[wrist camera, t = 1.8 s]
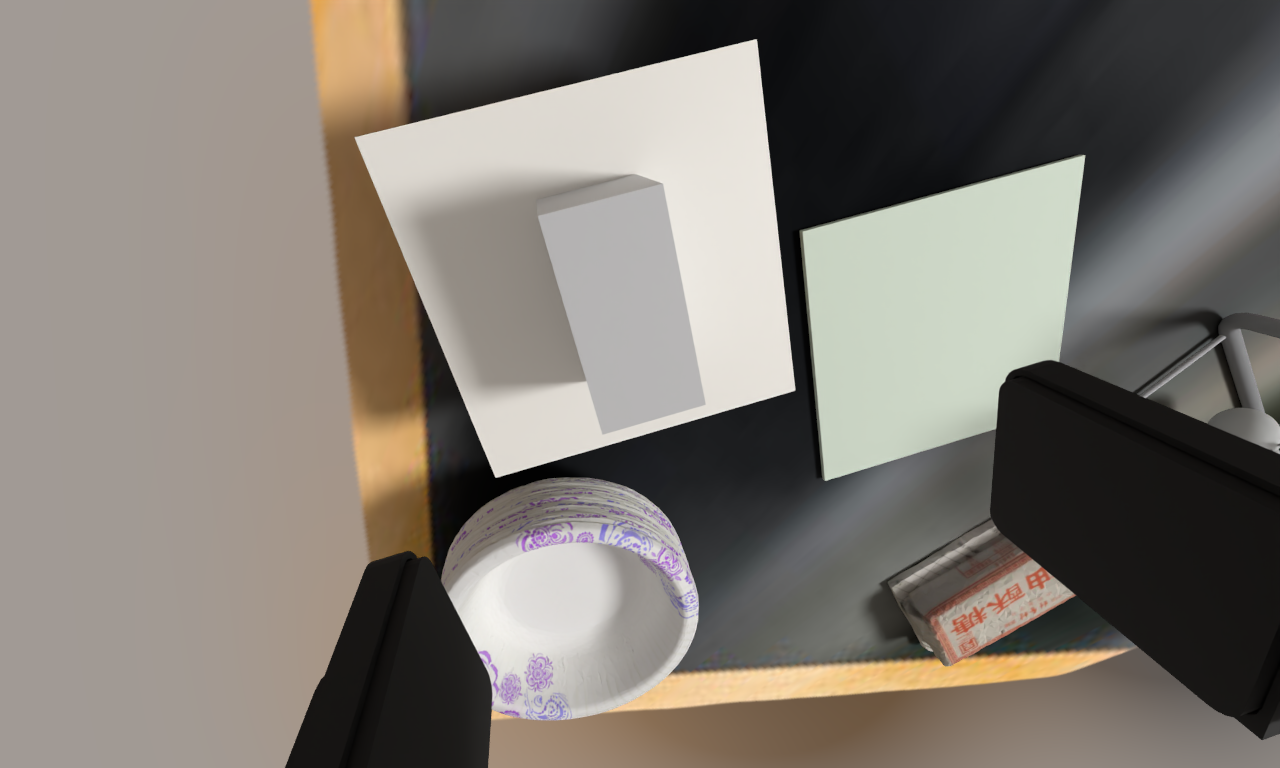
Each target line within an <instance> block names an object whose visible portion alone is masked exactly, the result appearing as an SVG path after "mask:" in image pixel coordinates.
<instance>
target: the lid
mask: <svg viewBox="0 0 1280 768" xmlns="http://www.w3.org/2000/svg"><path fill="white" fill-rule="evenodd" d="M354 138H355V140H356V142H357V145H358V147H359V150H360V152H361V155H362V157H363V159H364V162H365V164H366V167H367V169H368V171H369V174H370V176H371V179H372V181H373V183H374V186H375V188H376V191H377V193H378V195H379V198H380V200H381V203H382V205H383V208H384V210H385V212H386V215H387V217H388V220H389V222H390V224H391V227H392V229H393V232H394V234H395V236H396V239H397V241H398V244H399V246H400V249H401V251H402V253H403V256H404V258H405V261H406V263H407V265H408V268H409V270H410V273H411V275H412V277H413V280H414V282H415V285H416V287H417V290H418V292H419V294H420V297H421V299H422V302H423V304H424V306H425V309H426V311H427V314H428V316H429V318H430V321H431V323H432V326H433V328H434V330H435V333H436V335H437V338H438V340H439V343H440V345H441V347H442V350H443V352H444V355H445V357H446V359H447V362H448V364H449V367H450V369H451V371H452V374H453V376H454V379H455V381H456V384H457V386H458V388H459V391H460V393H461V396H462V398H463V400H464V403H465V405H466V408H467V410H468V412H469V415H470V417H471V420H472V422H473V425H474V427H475V429H476V432H477V434H478V437H479V439H480V441H481V444H482V446H483V449H484V451H485V453H486V456H487V458H488V461H489V463H490V465H491V468H492V470H493V473H494V475H495V478H497V477H501V476H504V475H508V474H511V473H514V472H518V471H521V470H525V469H528V468H532V467H535V466H538V465H542V464H545V463H549V462H552V461H556V460H559V459H562V458H566V457H569V456H573V455H576V454H580V453H583V452H586V451H590V450H593V449H597V448H600V447H604V446H607V445H610V444H614V443H617V442H621V441H624V440H628V439H631V438H634V437H638V436H641V435H645V434H648V433H652V432H655V431H658V430H662V429H665V428H669V427H672V426H675V425H679V424H682V423H686V422H689V421H693V420H696V419H699V418H703V417H706V416H710V415H713V414H717V413H720V412H723V411H727V410H730V409H734V408H737V407H741V406H744V405H747V404H751V403H754V402H758V401H761V400H765V399H768V398H771V397H775V396H778V395H782V394H785V393H789V392H792V391H795V383H794V374H793V365H792V356H791V347H790V338H789V329H788V320H787V310H786V301H785V292H784V283H783V274H782V265H781V256H780V247H779V237H778V228H777V219H776V210H775V201H774V192H773V183H772V174H771V165H770V155H769V146H768V137H767V128H766V119H765V110H764V101H763V92H762V82H761V73H760V64H759V55H758V46H757V39H756V40H752V41H748V42H744V43H740V44H735V45H731V46H727V47H723V48H719V49H715V50H711V51H707V52H703V53H698V54H694V55H690V56H686V57H682V58H678V59H674V60H670V61H666V62H662V63H657V64H653V65H649V66H645V67H641V68H637V69H633V70H629V71H625V72H621V73H616V74H612V75H608V76H604V77H600V78H596V79H592V80H588V81H584V82H579V83H575V84H571V85H567V86H563V87H559V88H555V89H551V90H547V91H543V92H538V93H534V94H530V95H526V96H522V97H518V98H514V99H510V100H506V101H501V102H497V103H493V104H489V105H485V106H481V107H477V108H473V109H469V110H465V111H460V112H456V113H452V114H448V115H444V116H440V117H436V118H432V119H428V120H424V121H419V122H415V123H411V124H407V125H403V126H399V127H395V128H391V129H387V130H382V131H378V132H374V133H370V134H366V135H362V136H358V137H354Z"/></svg>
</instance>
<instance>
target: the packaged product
mask: <svg viewBox="0 0 1280 768" xmlns="http://www.w3.org/2000/svg"><path fill="white" fill-rule="evenodd" d="M887 582H888V585H889V587H890V589H891V591H892V593H893V595H894V597H895V599H896V601H897V603H898V605H899V607H900V608H901V610H902V612H903V613H904V615H905V616H906V618H907V619H908V621H909V623H910V624H911V626H912V628H913V630H914V632H915V634H916V636H917V638H918V640H919V642H920V644H921V645H922V646H923V647H924V648H926V649H927V650H929V651H932V652H934V654H935V656H936V657H937V658H938V659H940V661H941V662H942V664H943V665H944V666H951V665H953V664H955V663H957V662H959V661H960V660H962V659H963V658H967V657H968V656H971V655H972V654H974V653H976V652H978V651H979V650H980V649H982V648H984V647H985V646H987V645H990V644H992V643H994V642H995V641H997V640H999V639H1000V638H1002V637H1004V636H1006V635H1008V634H1010V633H1011V632H1013V631H1015V630H1016V629H1018V628H1019V627H1021V626H1023V625H1025V624H1027V623H1029V622H1030V621H1032V620H1034V619H1036V618H1038V617H1039V616H1041V615H1043V614H1044V613H1046V612H1047V611H1049V610H1051V609H1053V608H1054V607H1056V606H1058V605H1060V604H1062V603H1064V602H1065V601H1067V600H1068V599H1070V598H1072V597H1074V596H1076V595H1075V594H1074V593H1073V592H1071V591H1070V590H1069V589H1068V588H1067V587H1065V586H1064V585H1063V584H1062V583H1061V582H1059V581H1058V580H1057V579H1056V578H1054V577H1053V576H1052V575H1051V574H1050V573H1048V572H1047V571H1046V570H1045V569H1044V568H1042V567H1041V566H1040V565H1039V564H1038V563H1036V562H1035V561H1034V560H1033V559H1032V558H1030V557H1029V556H1028V555H1027V554H1026V553H1024V552H1023V551H1022V550H1021V549H1020V548H1018V547H1017V546H1016V545H1015V544H1014V543H1012V542H1011V541H1010V540H1009V539H1007V538H1006V537H1005V536H1004V535H1003V534H1002V533H1001V532H1000V531H999V530H998V529H997V528H996V526H995V525H994V523H993V521H992V519H991V520H989V521H988V522H986V523H985V524H983V525H981V526H979V527H977V528H975V529H973V530H971V531H970V532H968V533H966V534H964V535H963V536H962V537H960V538H958V539H956V540H955V541H953V542H952V543H950V544H949V545H947V546H946V547H944V548H943V549H942V550H940V551H938V552H936V553H934V554H933V555H931V556H930V557H928V558H927V559H925V560H923V561H922V562H920V563H919V564H917V565H915V566H913V567H912V568H910V569H908V570H906V571H904V572H902V573H900V574H899V575H897V576H896V577H894V578H893V579H891V580H889V581H887Z"/></svg>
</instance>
